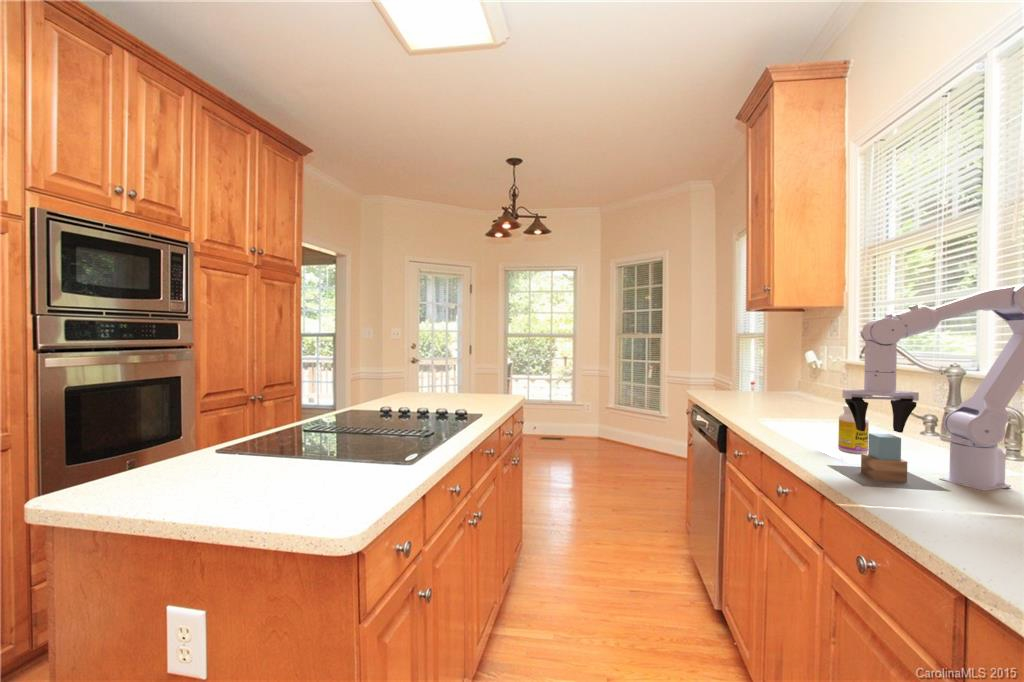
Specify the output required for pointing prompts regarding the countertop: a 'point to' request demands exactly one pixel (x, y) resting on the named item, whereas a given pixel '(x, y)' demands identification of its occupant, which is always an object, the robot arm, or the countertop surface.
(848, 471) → the mat
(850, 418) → the supplement bottle
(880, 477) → the slab bottom
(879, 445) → the blue block
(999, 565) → the countertop surface
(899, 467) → the slab top
